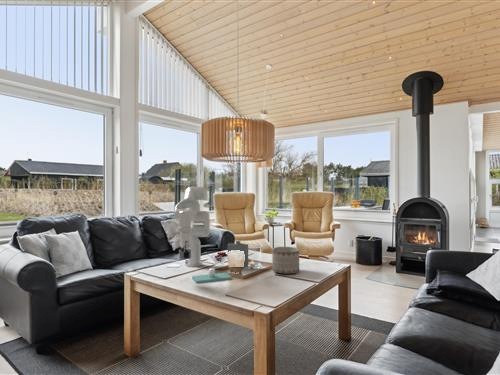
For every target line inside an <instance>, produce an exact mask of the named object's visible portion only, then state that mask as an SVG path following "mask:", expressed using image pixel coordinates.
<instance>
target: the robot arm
mask: <svg viewBox="0 0 500 375" xmlns="http://www.w3.org/2000/svg"><path fill="white" fill-rule="evenodd" d="M207 190H208V189H206V188H205V187H204V186H190V187H187V188H186V189H185V191H184V197H183V199H182V200H180V201H179V202H178V203H177V204H175V208H174V211H173V219H174V220H175V221H178V233H179V246H180V248H181V249H184V258H189V249H191V258H190V259H187V260H188V261H187V263H186V264H185V265H186V267H191V268H196V267H201V266H203V262H202V260H201V259H202V258H201V256H202V254H201V250H202V249H201V244H202V243H201V240H200V239H199V238H205V237H206V238H207V237H209V236H210V230H211V229H210V226H211V225H210V219H211V218H210V213H209V211H207V210H201V204H200V202H199V201H203V200H204V201H205V200H207V199H208V196H209V195H208V191H207Z"/></svg>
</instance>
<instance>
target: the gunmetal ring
mask: <svg viewBox="0 0 500 375" xmlns="http://www.w3.org/2000/svg"><path fill="white" fill-rule="evenodd" d="M178 258H179V260H188V259H190V258H191V249H189V258H184V249H182V248H181V249H179V250H178Z"/></svg>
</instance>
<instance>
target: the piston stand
mask: <svg viewBox="0 0 500 375" xmlns="http://www.w3.org/2000/svg"><path fill="white" fill-rule="evenodd" d="M232 278H233V277H232V276H231V275H230V274H229V273H228V272H218V273H216V269H215V268H214V267H213V268H211V267H210V268H209V269H208V274H199V275H193V276H192V280H193V282H195V284H201V283H202V284H203V283H212V282H220V281H229V280H233V279H232Z"/></svg>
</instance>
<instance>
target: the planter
mask: <svg viewBox="0 0 500 375" xmlns="http://www.w3.org/2000/svg"><path fill="white" fill-rule="evenodd" d="M271 249H272V250H271V251H272V252H271V254H272V257H271V258H272V268H271V269H272V271H273V272H275V273H278V274H282V273H283V275H290V274H289V273H291V274H296V273H299V271H300V249H299V248H297V247H293V246H277V247H274V248H271Z"/></svg>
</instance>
